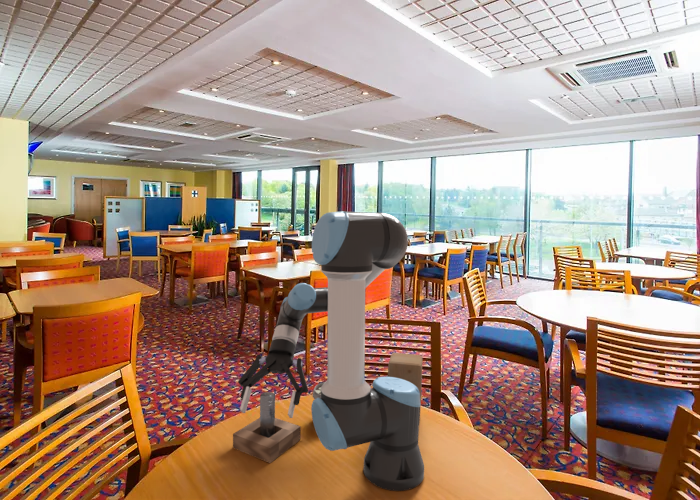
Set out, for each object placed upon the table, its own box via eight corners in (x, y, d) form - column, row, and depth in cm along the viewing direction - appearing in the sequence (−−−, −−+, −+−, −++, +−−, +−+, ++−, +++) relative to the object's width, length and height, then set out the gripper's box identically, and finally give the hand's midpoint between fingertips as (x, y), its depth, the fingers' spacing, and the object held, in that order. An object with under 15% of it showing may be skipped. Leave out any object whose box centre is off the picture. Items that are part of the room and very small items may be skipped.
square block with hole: (300, 439, 119) (300, 426, 119) (270, 463, 108) (270, 448, 108) (264, 427, 126) (265, 414, 125) (233, 447, 114) (232, 433, 114)
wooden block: (419, 430, 126) (421, 365, 124) (385, 425, 128) (388, 362, 126) (420, 414, 136) (422, 354, 134) (389, 410, 138) (391, 351, 136)
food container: (316, 408, 138) (317, 379, 137) (335, 410, 137) (335, 380, 136) (307, 427, 126) (308, 395, 125) (328, 429, 125) (328, 397, 124)
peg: (277, 442, 118) (278, 394, 116) (268, 449, 114) (268, 399, 113) (266, 438, 120) (266, 390, 118) (256, 444, 116) (257, 396, 115)
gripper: (325, 352, 129) (312, 423, 116) (248, 346, 133) (227, 413, 120) (322, 340, 124) (307, 413, 110) (241, 334, 128) (218, 404, 114)
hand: (265, 413), depth 115 cm, fingers open, 13 cm apart
